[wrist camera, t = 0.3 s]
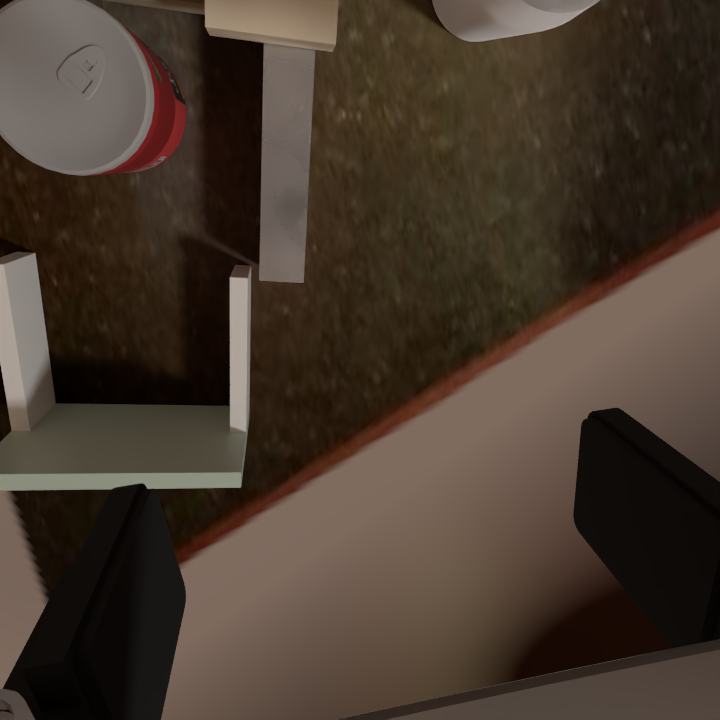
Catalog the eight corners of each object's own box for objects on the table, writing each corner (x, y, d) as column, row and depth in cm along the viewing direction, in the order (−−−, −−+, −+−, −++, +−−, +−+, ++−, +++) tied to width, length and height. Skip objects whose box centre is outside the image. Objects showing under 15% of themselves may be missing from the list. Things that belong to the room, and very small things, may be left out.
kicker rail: (268, -88, 31) (267, -131, 27) (317, -79, 32) (323, -120, 27) (261, 266, 39) (259, 280, 34) (300, 268, 40) (303, 282, 35)
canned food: (207, 85, 34) (176, 52, 24) (161, 193, 36) (115, 205, 26) (91, 15, 32) (4, -53, 22) (49, 135, 34) (-49, 124, 24)
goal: (16, 251, 36) (-74, 282, 27) (251, 265, 39) (242, 297, 30) (41, 416, 41) (-29, 490, 32) (249, 418, 44) (241, 487, 34)
